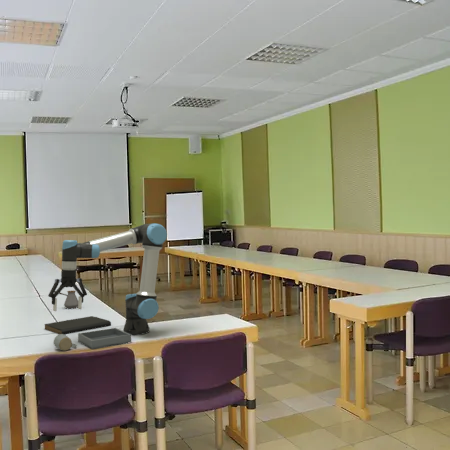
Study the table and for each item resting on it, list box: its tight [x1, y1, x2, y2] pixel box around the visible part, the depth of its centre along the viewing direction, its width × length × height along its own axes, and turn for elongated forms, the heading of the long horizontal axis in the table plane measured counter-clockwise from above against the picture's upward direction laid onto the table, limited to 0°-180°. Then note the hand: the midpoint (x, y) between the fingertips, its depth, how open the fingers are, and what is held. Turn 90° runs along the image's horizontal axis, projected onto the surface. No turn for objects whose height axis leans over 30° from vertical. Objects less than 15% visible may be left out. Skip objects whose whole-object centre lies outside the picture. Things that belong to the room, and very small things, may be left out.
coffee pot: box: [54, 290, 78, 310], centre depth 395 cm, size 21×12×15 cm, turn 132°
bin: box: [77, 327, 132, 350], centre depth 285 cm, size 22×22×4 cm
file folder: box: [44, 315, 112, 335], centre depth 326 cm, size 33×4×24 cm
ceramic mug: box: [53, 334, 77, 352], centre depth 272 cm, size 11×8×8 cm
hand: (67, 309), depth 273 cm, fingers open, 13 cm apart
